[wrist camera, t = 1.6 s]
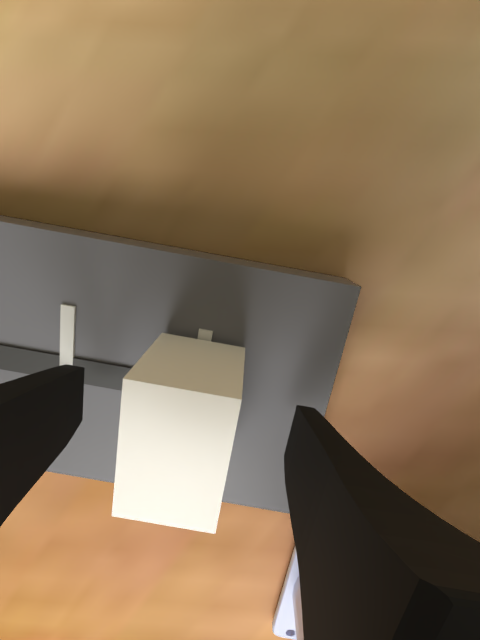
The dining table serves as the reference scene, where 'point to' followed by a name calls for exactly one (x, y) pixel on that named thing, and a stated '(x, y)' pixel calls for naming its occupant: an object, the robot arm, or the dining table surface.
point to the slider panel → (177, 319)
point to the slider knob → (178, 432)
